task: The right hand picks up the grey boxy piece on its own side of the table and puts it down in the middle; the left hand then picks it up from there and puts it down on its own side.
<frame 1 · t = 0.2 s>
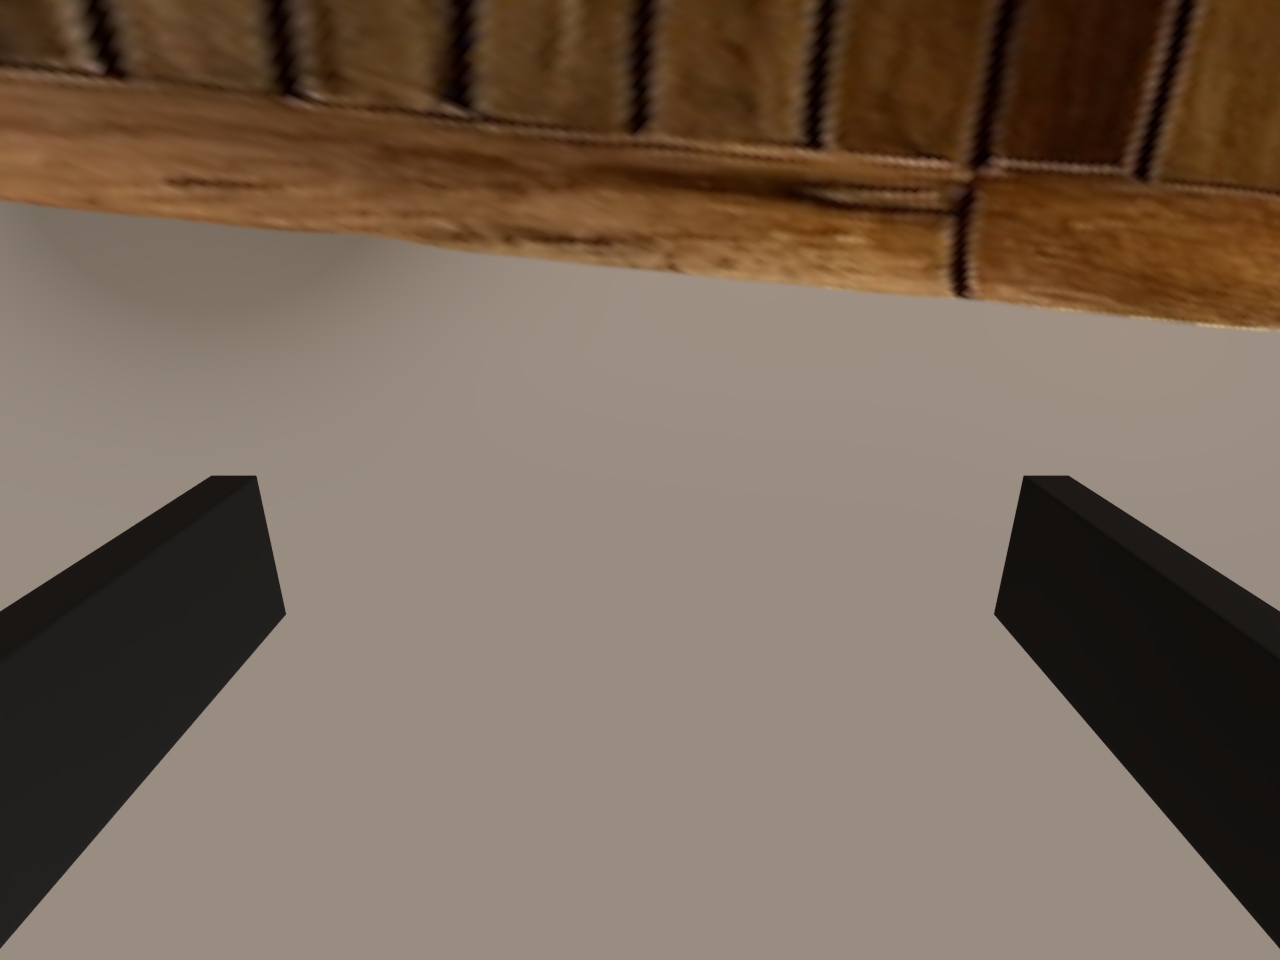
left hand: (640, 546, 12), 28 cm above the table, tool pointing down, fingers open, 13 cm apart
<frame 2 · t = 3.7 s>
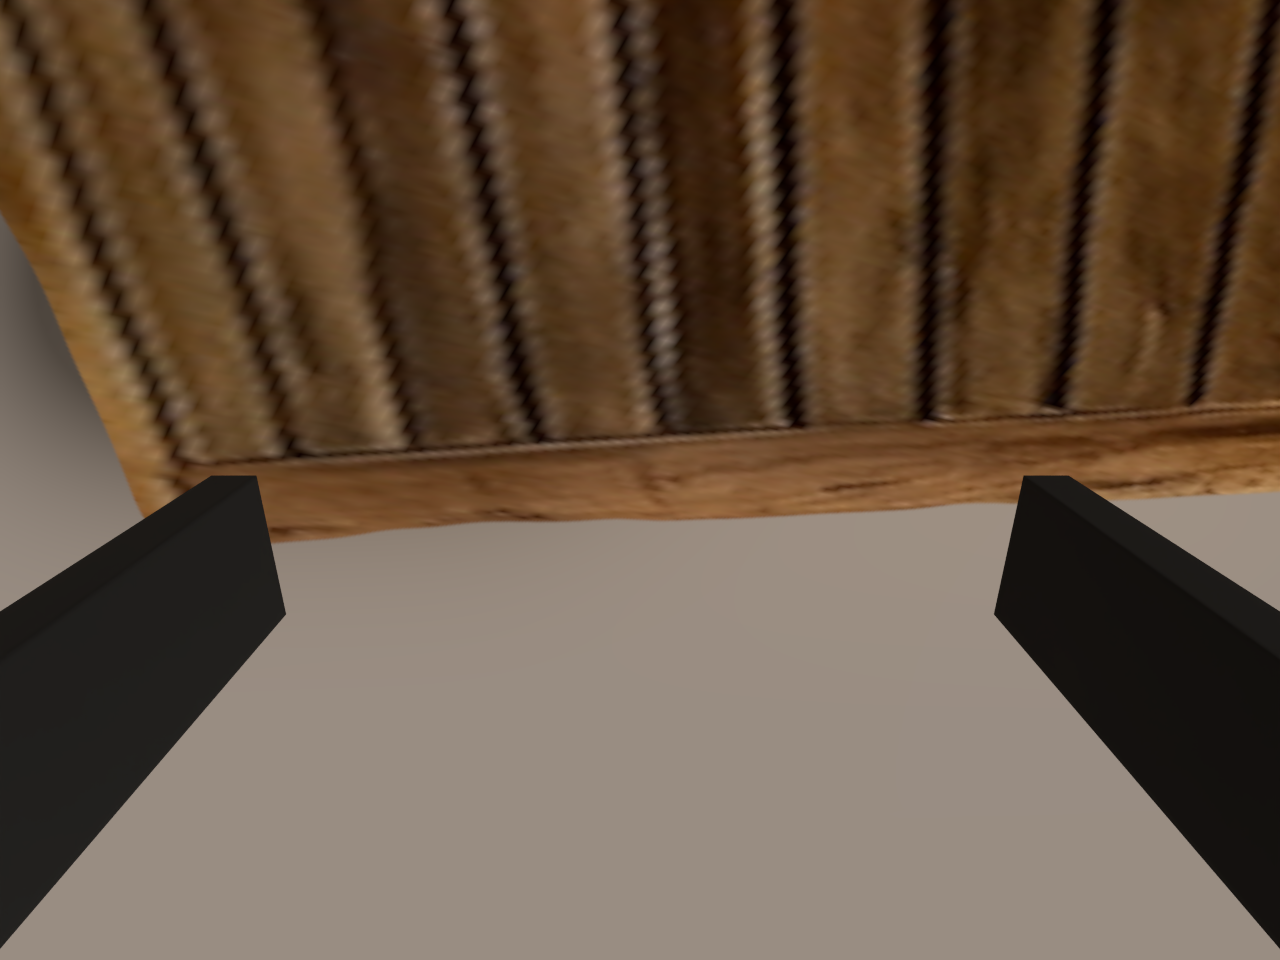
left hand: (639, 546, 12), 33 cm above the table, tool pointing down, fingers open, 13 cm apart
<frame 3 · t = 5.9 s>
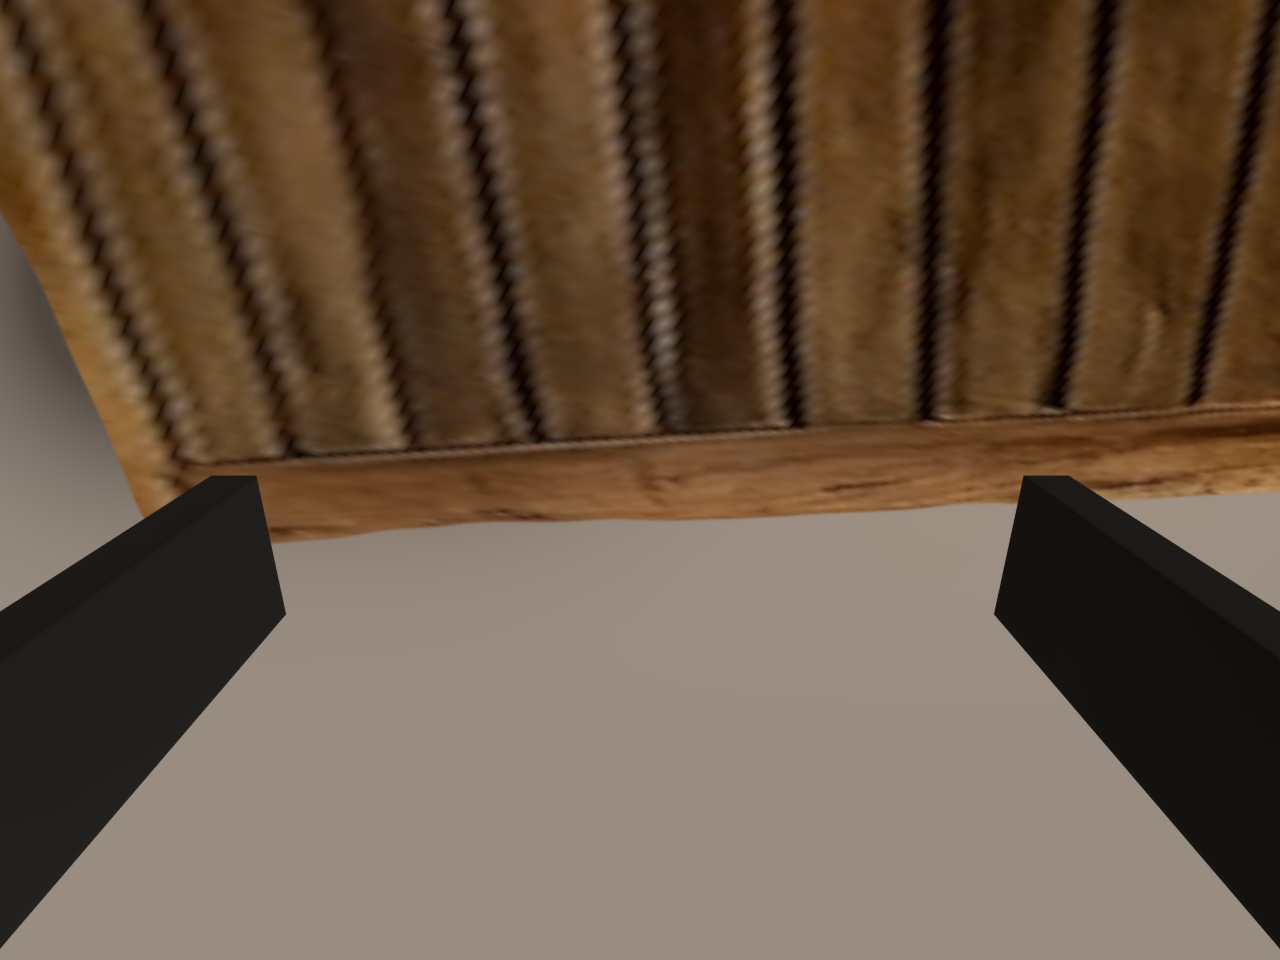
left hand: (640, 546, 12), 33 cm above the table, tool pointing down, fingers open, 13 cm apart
when the right hand's fingers open (5 cm above the table, at t = 8.5 s): grey boxy piece drops 1 cm, on the table.
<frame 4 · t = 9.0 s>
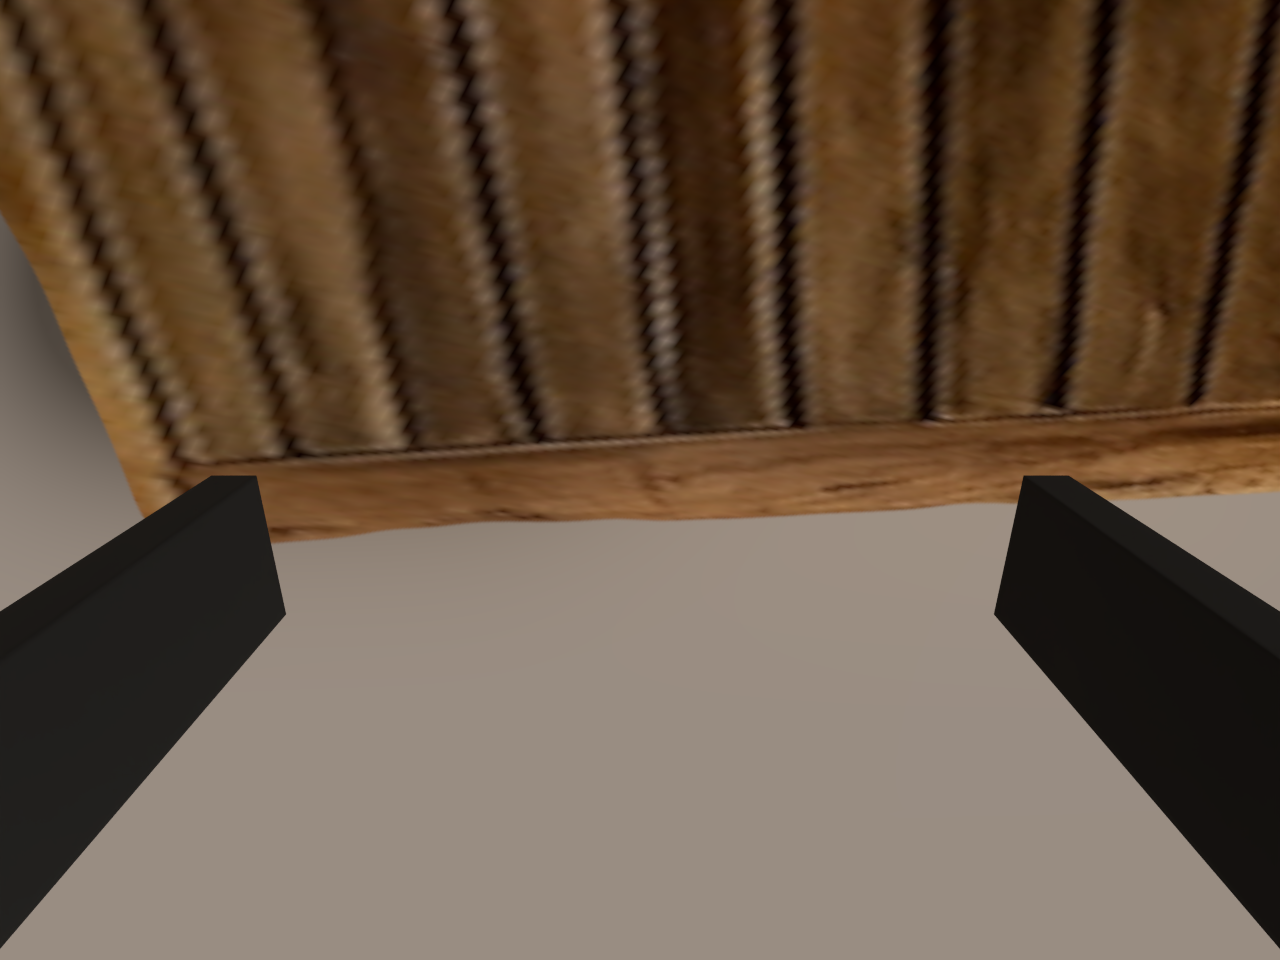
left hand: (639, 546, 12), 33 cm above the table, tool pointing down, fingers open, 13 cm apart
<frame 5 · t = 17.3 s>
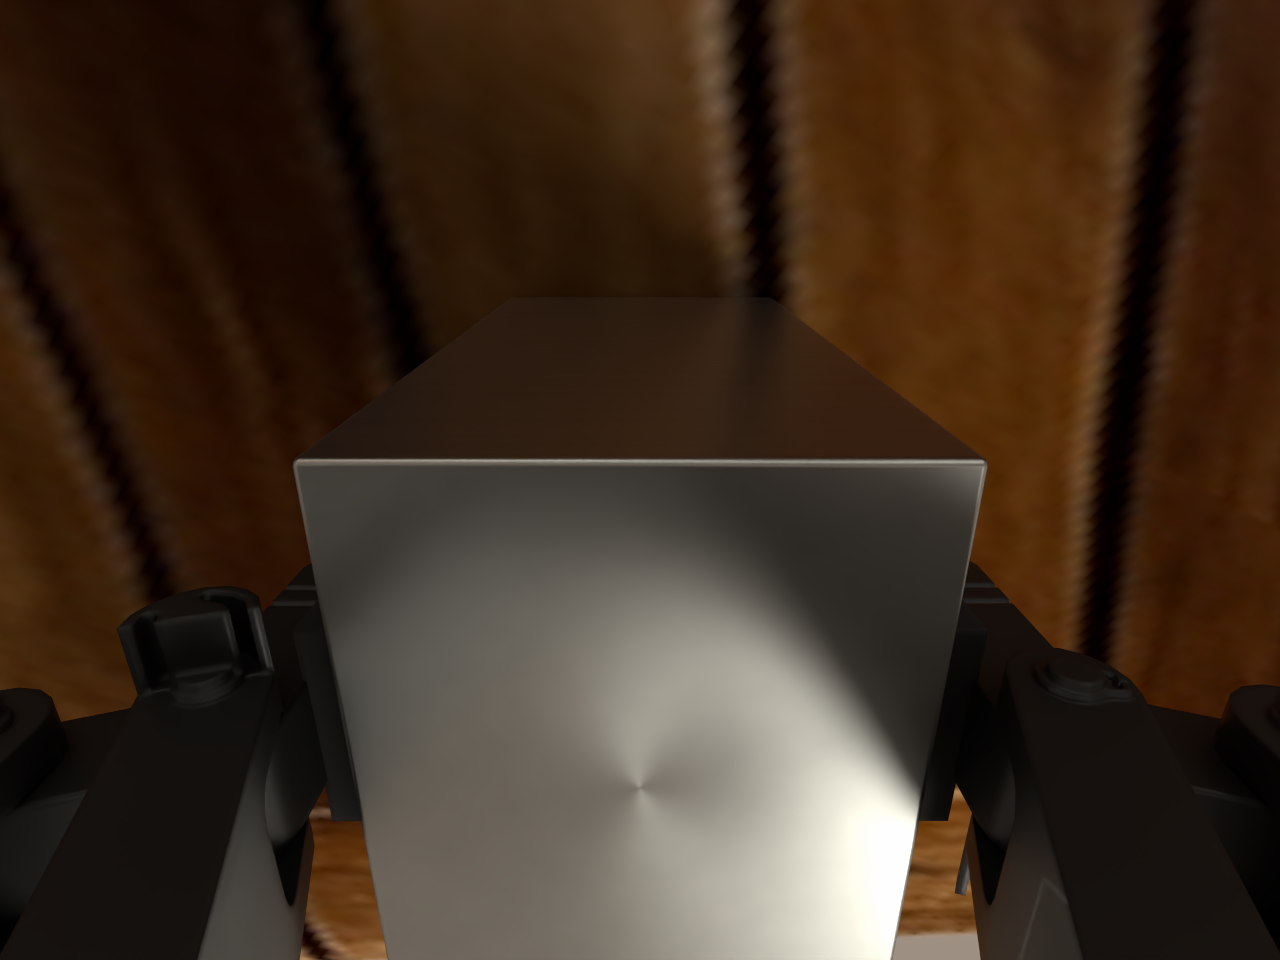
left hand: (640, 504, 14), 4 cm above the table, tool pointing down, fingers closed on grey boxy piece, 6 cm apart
grey boxy piece: (640, 447, 17), on the table, touching left hand
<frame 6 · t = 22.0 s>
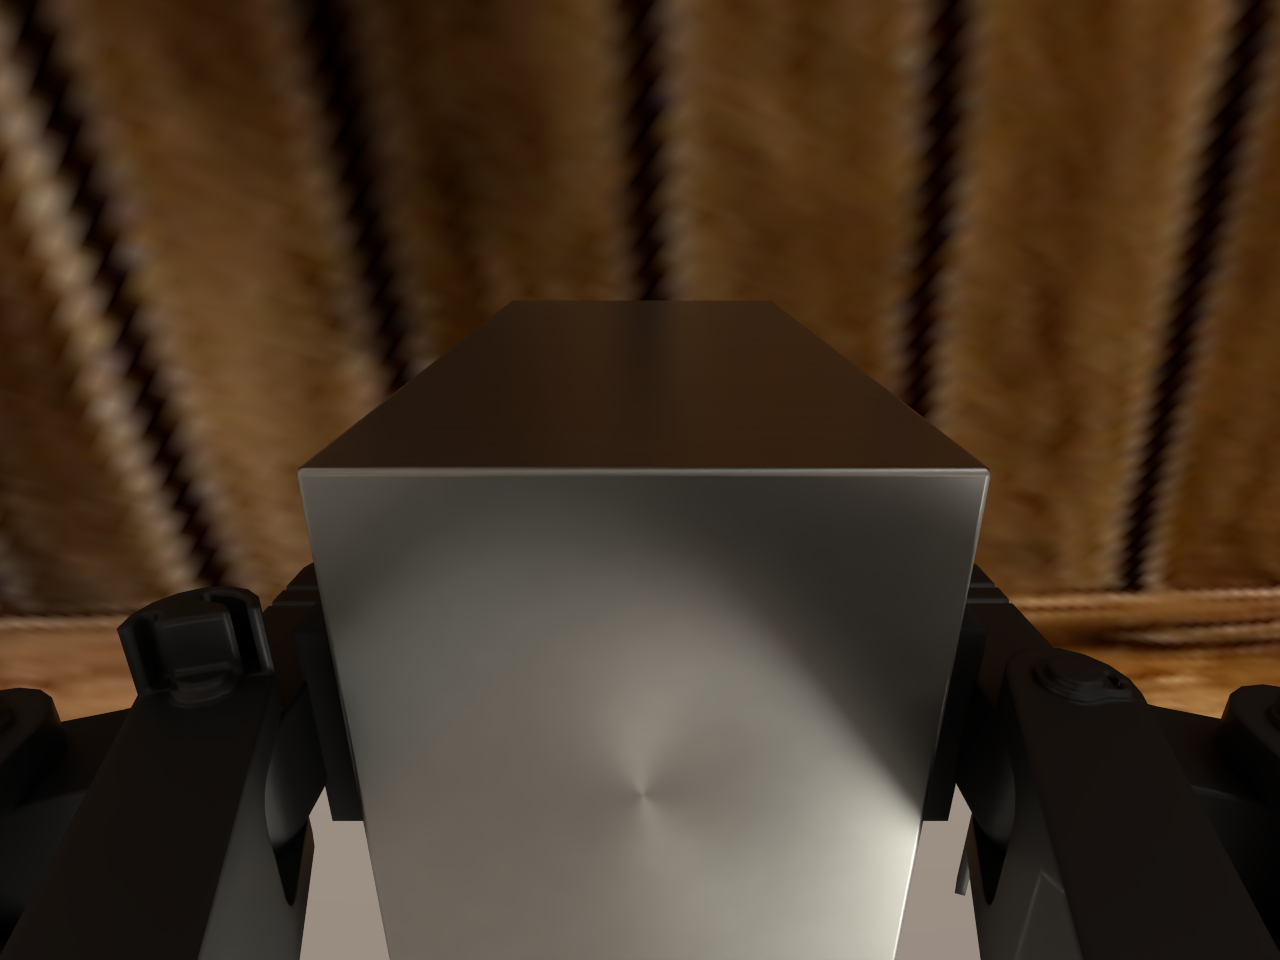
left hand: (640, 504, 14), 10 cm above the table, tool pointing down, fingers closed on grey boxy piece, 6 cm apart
grey boxy piece: (641, 450, 17), point 7 cm above the table, touching left hand
when the left hand's fingers open (5 cm above the table, at t = 26.9 s): grey boxy piece drops 1 cm, on the table.
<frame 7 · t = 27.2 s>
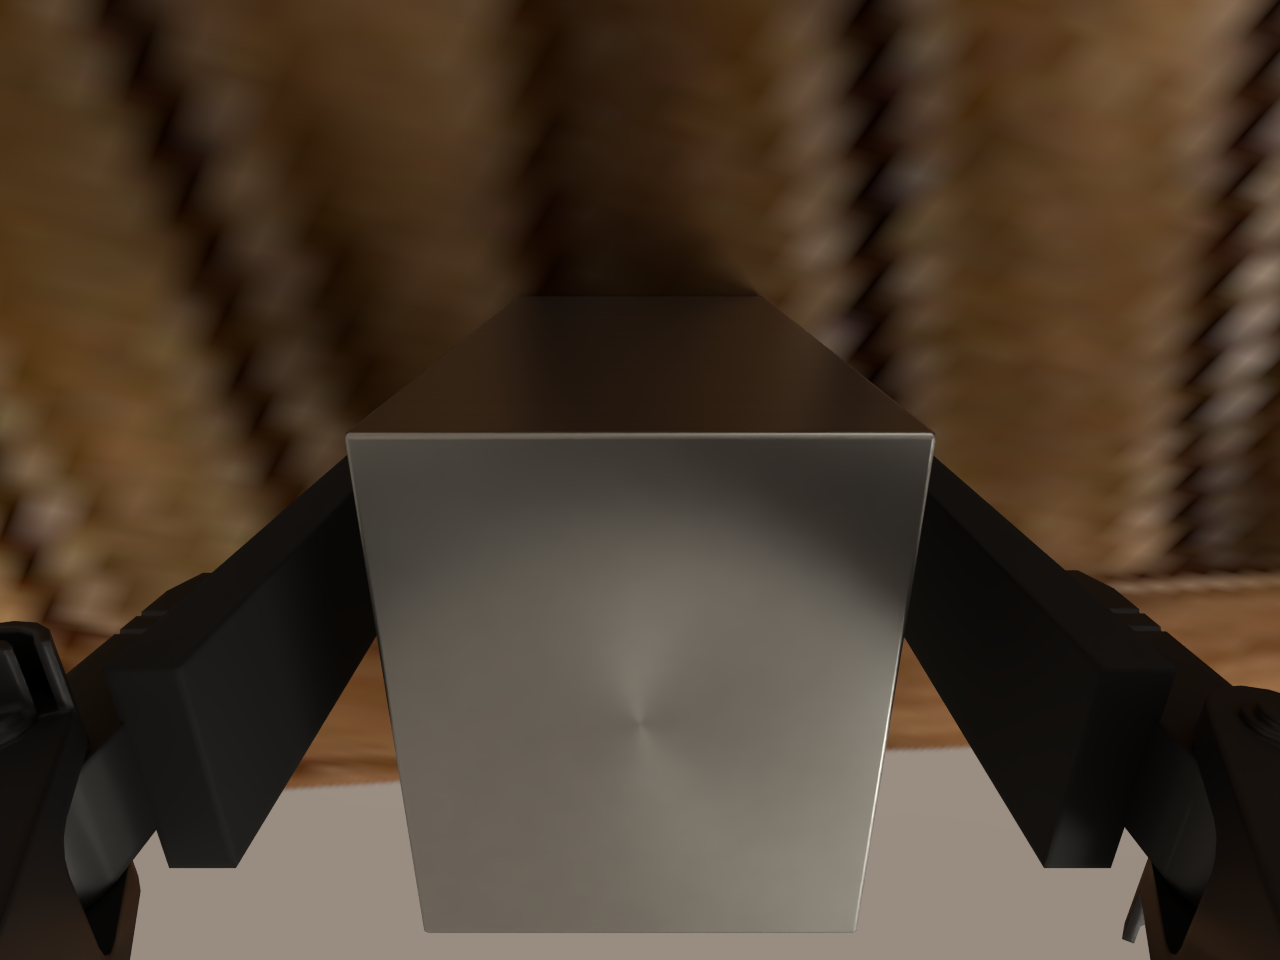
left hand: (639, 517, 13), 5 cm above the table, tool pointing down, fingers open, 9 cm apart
grey boxy piece: (640, 437, 18), on the table
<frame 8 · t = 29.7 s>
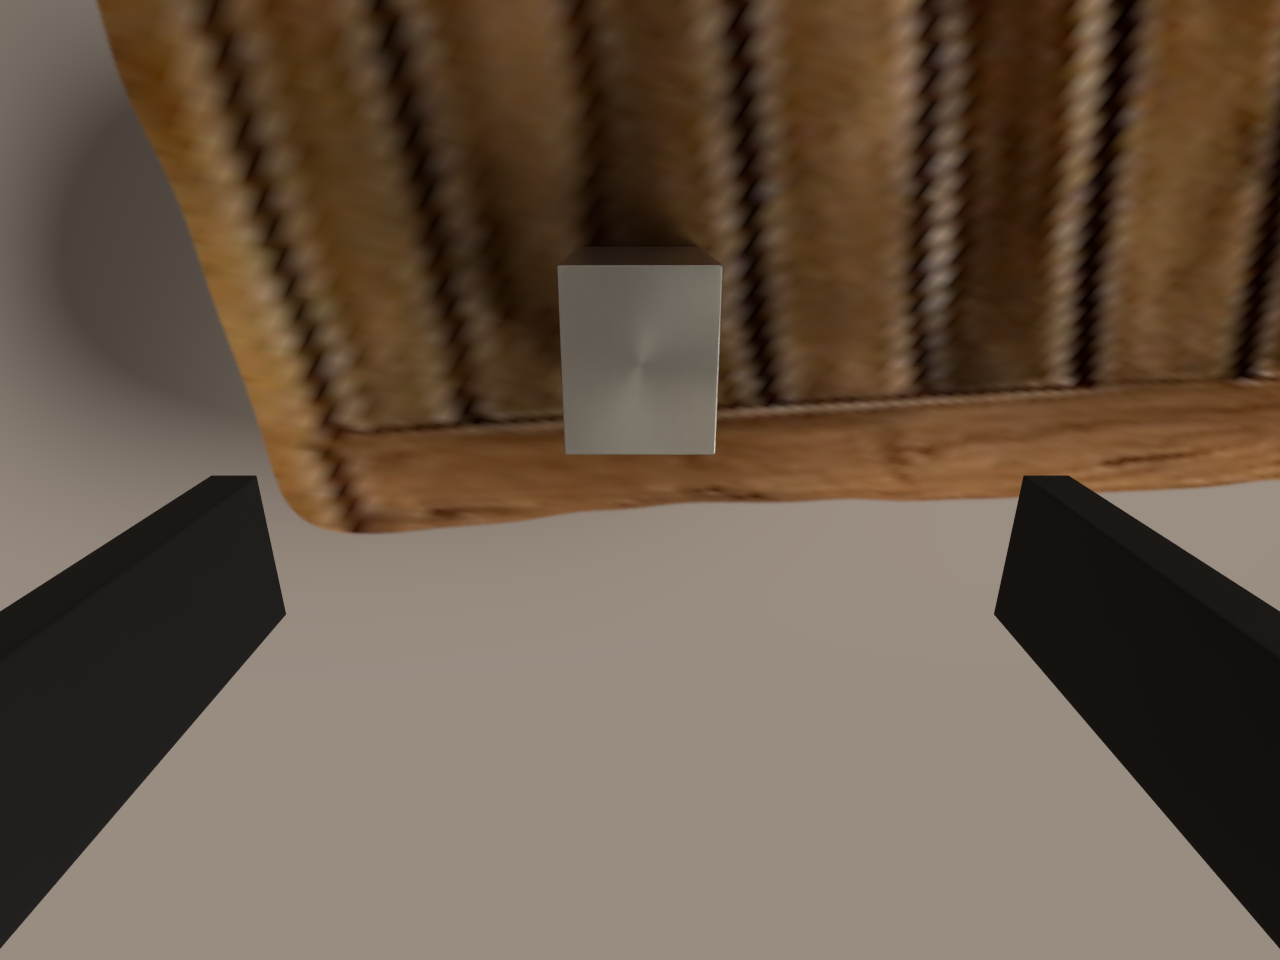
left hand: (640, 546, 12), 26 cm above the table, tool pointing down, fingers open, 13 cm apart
grey boxy piece: (640, 319, 37), on the table
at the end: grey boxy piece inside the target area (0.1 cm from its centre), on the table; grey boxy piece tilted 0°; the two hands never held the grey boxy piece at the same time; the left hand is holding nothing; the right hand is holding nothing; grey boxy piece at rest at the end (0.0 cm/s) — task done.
